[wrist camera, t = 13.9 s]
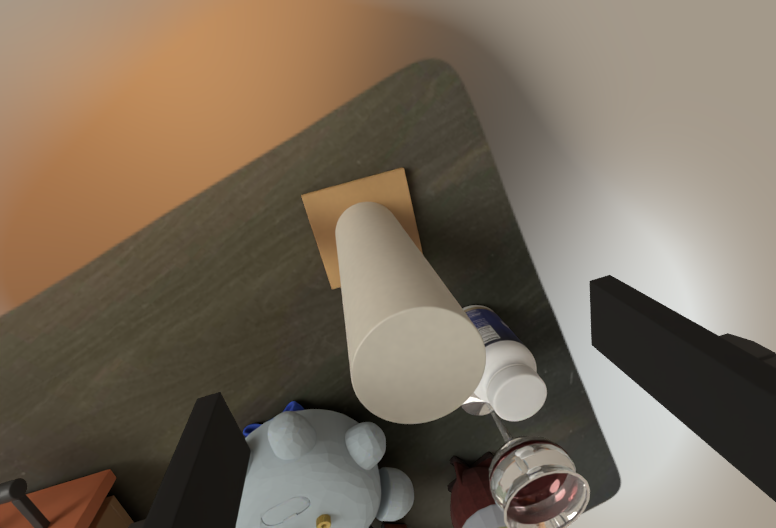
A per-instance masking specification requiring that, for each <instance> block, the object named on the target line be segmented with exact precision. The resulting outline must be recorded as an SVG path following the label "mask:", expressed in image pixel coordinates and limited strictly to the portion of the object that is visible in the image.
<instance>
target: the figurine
mask: <svg viewBox="0 0 776 528" xmlns="http://www.w3.org/2000/svg"><path fill="white" fill-rule="evenodd" d="M243 434H244V436H245V437H246V438H245V440H246V442H247V444H248V446H249V448H250V450H251V454H250V459H249V464H248V469H247V474H246V478H245V483H244V488H243V493H242V498H241V503H240V508H239V513H238V518H237V523H236V528H373V527H372V526H371V523H372V522H373V520H374V519H375V517H376V518H377V519H378V520H380V521H396V520H398V519H401V518H403V517H404V516H405V515H406V514H407V513H408V512H409V511H410V509H411V507H412V505H413V501H414V489H413V485H412V482H411V480H410V479H409V477H408V476H407V475H406V474H405V473H404V472H402V471H401V470H399V469H396V468H389V467H382V468H381V469H380V470H378V465H377V463H378V462H379V461H380V460H381V459H382V457H383V455H384V453H385V451H386V438H385V435H384V433H383V431H382V430H381V428H380V427H378V426H377V425H376V424H375V423H372V422H362V423H358V422H356V421H355V420H353V419H352V418H350V417H348V416H346V415H344V414H341V413H338V412H334V411H330V410H323V409H308V410H305V409H304V408H303V407H302V406H301V405H300V404H298V403H297V402H295V401H292V402H290V403H289V404H288V405H287V406H286V408H285V409H284V411H283V412H282V413H280V414H278V415H277V416H275V417H274V418H272V419H270V420H268V421H267V422H265V423H264V424H250V425H248V426H247V427H245V428H244V430H243Z"/></svg>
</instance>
